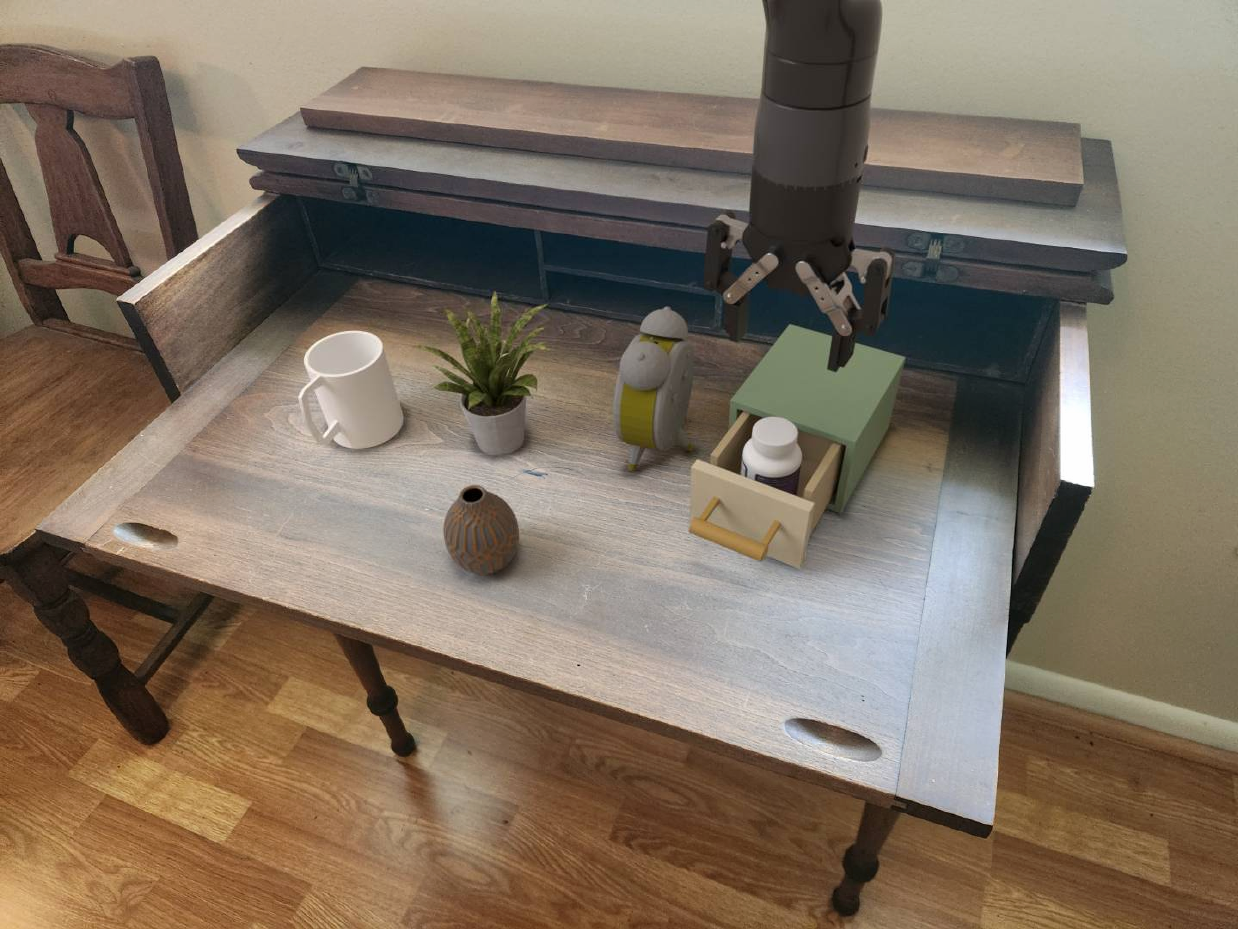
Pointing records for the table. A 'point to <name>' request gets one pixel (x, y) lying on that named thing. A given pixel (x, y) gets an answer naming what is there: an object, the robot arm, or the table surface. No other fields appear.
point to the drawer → (762, 497)
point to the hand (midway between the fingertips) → (786, 351)
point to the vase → (481, 531)
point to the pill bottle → (773, 455)
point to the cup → (351, 390)
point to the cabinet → (825, 397)
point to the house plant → (492, 380)
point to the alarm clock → (654, 386)
